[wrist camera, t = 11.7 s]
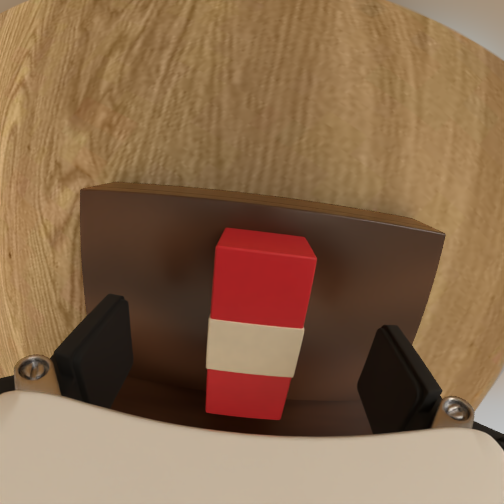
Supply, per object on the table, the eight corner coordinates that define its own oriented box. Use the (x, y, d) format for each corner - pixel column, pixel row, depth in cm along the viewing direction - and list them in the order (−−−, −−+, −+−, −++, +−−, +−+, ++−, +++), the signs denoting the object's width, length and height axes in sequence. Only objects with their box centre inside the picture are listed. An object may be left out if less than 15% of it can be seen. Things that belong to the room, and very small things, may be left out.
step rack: (114, 181, 17) (-8, 211, 7) (412, 218, 17) (526, 275, 7) (133, 426, 23) (98, 514, 13) (333, 448, 23) (351, 540, 13)
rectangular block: (224, 226, 13) (213, 245, 10) (306, 236, 13) (319, 258, 10) (212, 373, 16) (203, 413, 13) (278, 380, 16) (281, 421, 13)
